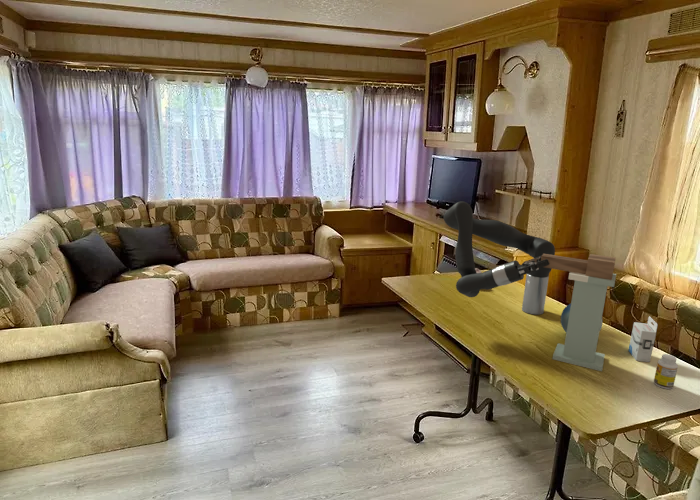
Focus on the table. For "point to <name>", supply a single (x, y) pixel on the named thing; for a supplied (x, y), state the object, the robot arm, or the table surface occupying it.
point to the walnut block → (583, 265)
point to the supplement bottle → (666, 371)
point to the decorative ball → (566, 317)
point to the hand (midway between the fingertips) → (550, 259)
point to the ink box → (643, 340)
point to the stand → (584, 322)
